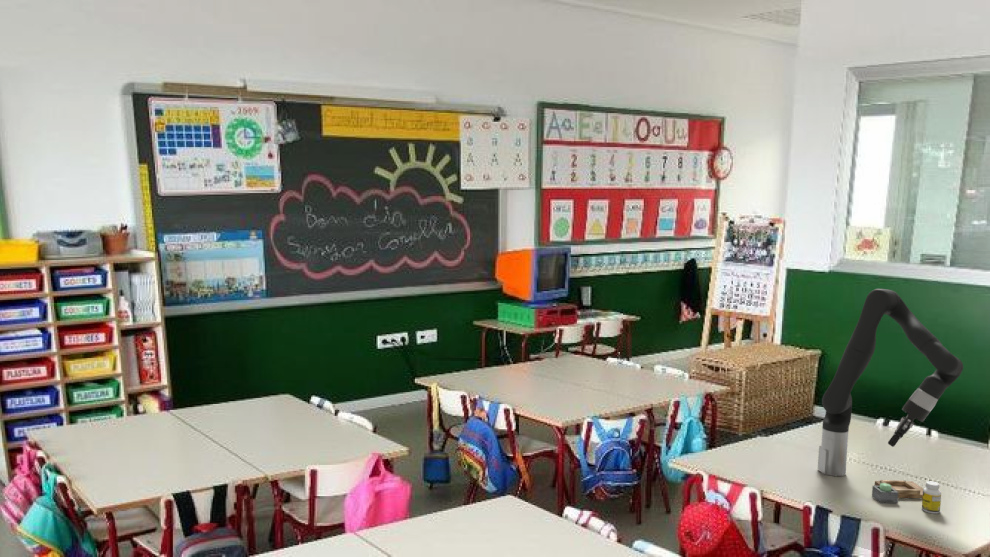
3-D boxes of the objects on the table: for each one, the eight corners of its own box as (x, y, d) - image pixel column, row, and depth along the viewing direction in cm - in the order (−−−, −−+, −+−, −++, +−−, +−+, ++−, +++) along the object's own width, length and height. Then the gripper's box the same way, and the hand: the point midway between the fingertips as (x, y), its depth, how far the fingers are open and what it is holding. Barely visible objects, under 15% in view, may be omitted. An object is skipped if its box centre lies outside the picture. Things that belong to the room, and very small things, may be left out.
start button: (882, 495, 260) (883, 486, 260) (877, 491, 264) (877, 483, 263) (892, 495, 260) (893, 486, 260) (887, 491, 264) (888, 483, 263)
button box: (880, 503, 259) (881, 492, 259) (871, 496, 265) (872, 485, 265) (897, 503, 259) (898, 492, 259) (888, 496, 265) (889, 485, 265)
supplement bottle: (918, 507, 256) (920, 479, 255) (934, 507, 256) (936, 480, 255) (926, 513, 250) (929, 485, 250) (943, 514, 250) (945, 486, 249)
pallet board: (893, 498, 264) (894, 490, 263) (874, 484, 276) (875, 476, 276) (932, 499, 264) (933, 490, 263) (912, 485, 277) (912, 477, 276)
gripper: (931, 412, 248) (900, 454, 252) (930, 409, 260) (900, 449, 263) (909, 399, 252) (879, 440, 255) (909, 397, 263) (880, 436, 267)
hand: (890, 445), depth 259 cm, fingers closed
